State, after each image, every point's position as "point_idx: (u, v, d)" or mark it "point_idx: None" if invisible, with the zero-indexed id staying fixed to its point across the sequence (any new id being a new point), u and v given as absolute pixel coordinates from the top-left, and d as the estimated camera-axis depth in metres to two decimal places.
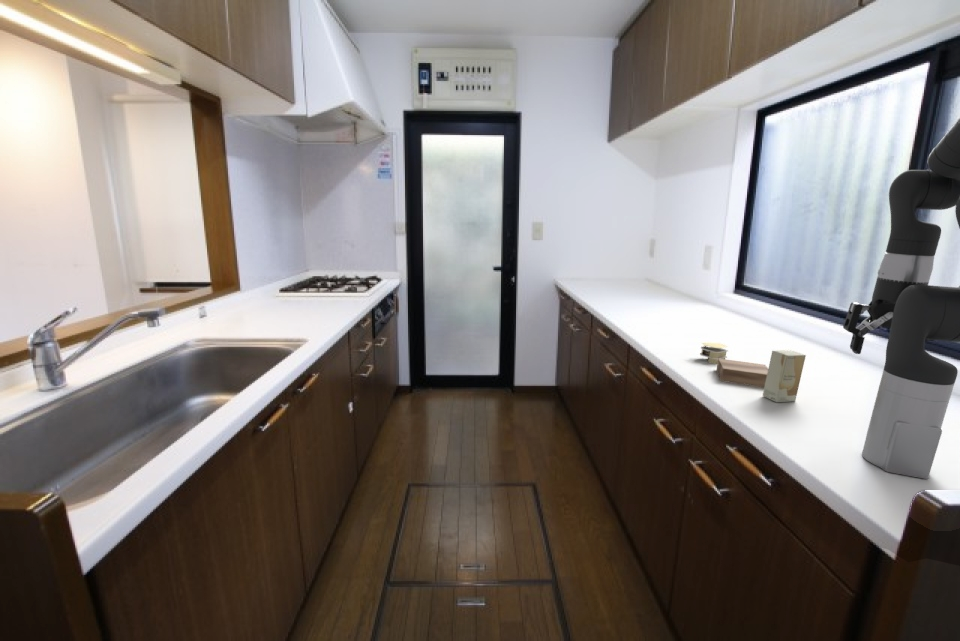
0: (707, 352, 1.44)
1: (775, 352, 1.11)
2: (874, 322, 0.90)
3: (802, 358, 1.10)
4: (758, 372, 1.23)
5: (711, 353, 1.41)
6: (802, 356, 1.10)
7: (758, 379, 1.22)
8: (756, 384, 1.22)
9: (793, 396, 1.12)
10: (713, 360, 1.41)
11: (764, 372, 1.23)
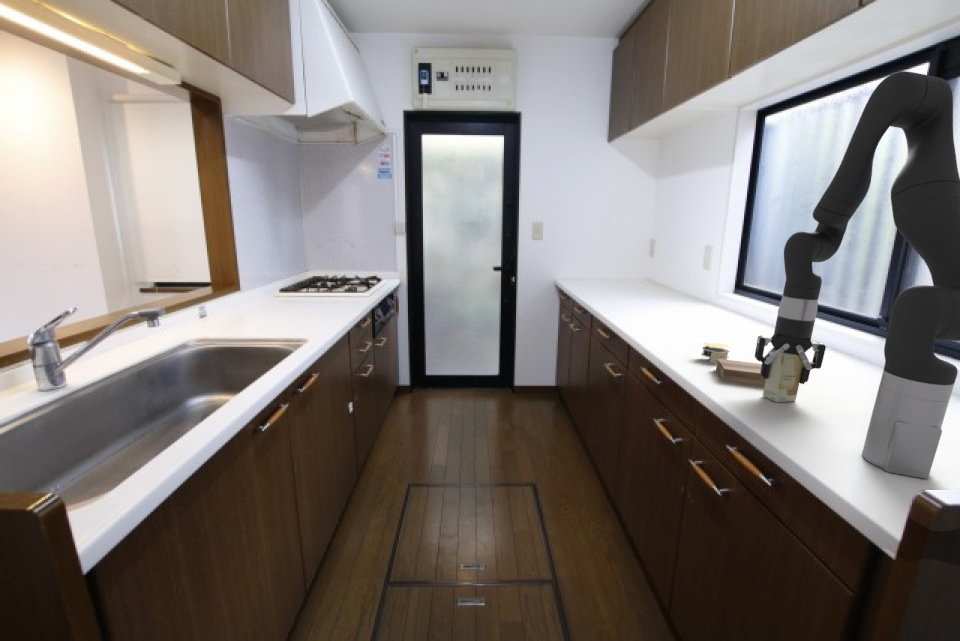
0: (709, 352, 1.44)
1: None
2: (775, 352, 1.11)
3: None
4: (759, 371, 1.23)
5: (713, 353, 1.40)
6: None
7: (759, 379, 1.22)
8: (757, 384, 1.22)
9: (793, 396, 1.12)
10: (714, 360, 1.40)
11: None
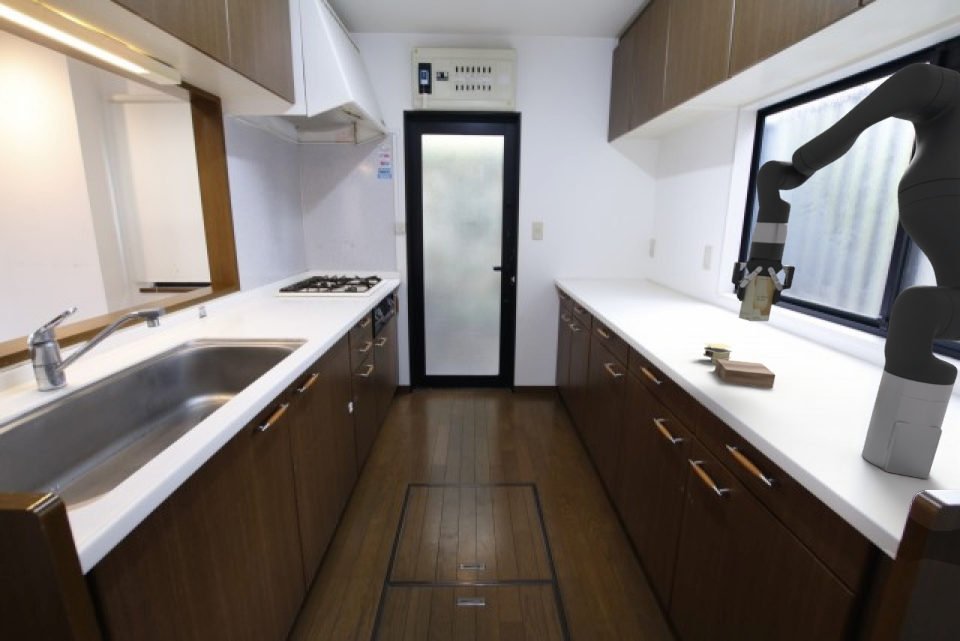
0: (710, 353, 1.44)
1: None
2: (750, 275, 1.21)
3: None
4: (760, 371, 1.23)
5: (714, 354, 1.40)
6: None
7: (760, 379, 1.22)
8: (758, 384, 1.22)
9: (766, 316, 1.22)
10: None
11: (765, 372, 1.23)
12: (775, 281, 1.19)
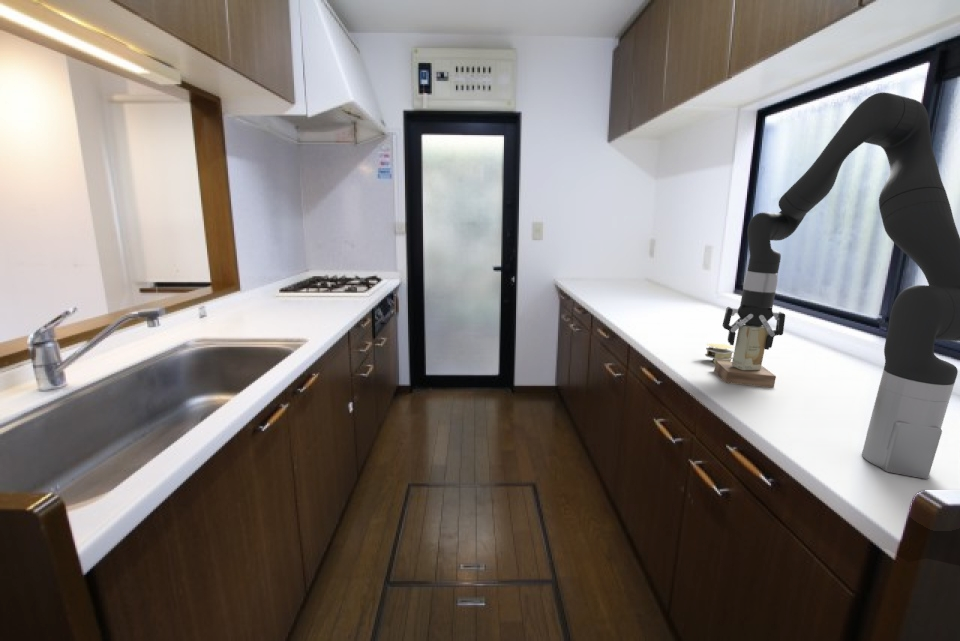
0: (712, 353, 1.43)
1: (742, 326, 1.24)
2: (741, 321, 1.24)
3: (765, 331, 1.23)
4: (761, 373, 1.23)
5: (716, 354, 1.40)
6: None
7: (761, 380, 1.22)
8: (759, 385, 1.23)
9: (758, 365, 1.25)
10: None
11: (765, 373, 1.23)
12: (767, 328, 1.22)
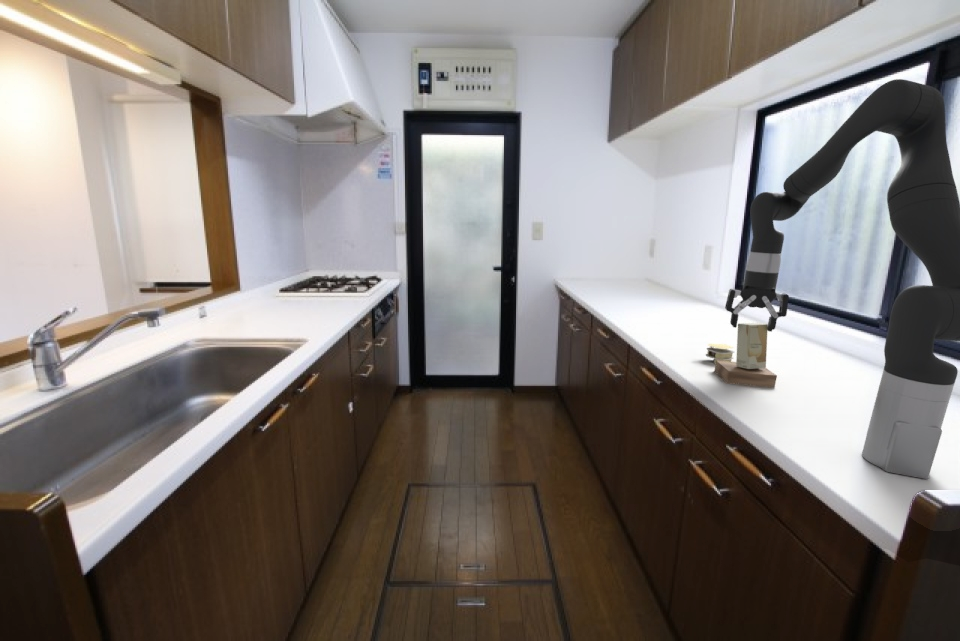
0: (713, 353, 1.43)
1: (740, 324, 1.25)
2: (744, 303, 1.22)
3: (765, 327, 1.23)
4: (761, 372, 1.23)
5: (717, 354, 1.40)
6: (764, 325, 1.23)
7: (762, 380, 1.22)
8: (760, 385, 1.22)
9: (763, 362, 1.24)
10: None
11: (766, 372, 1.23)
12: (770, 309, 1.20)
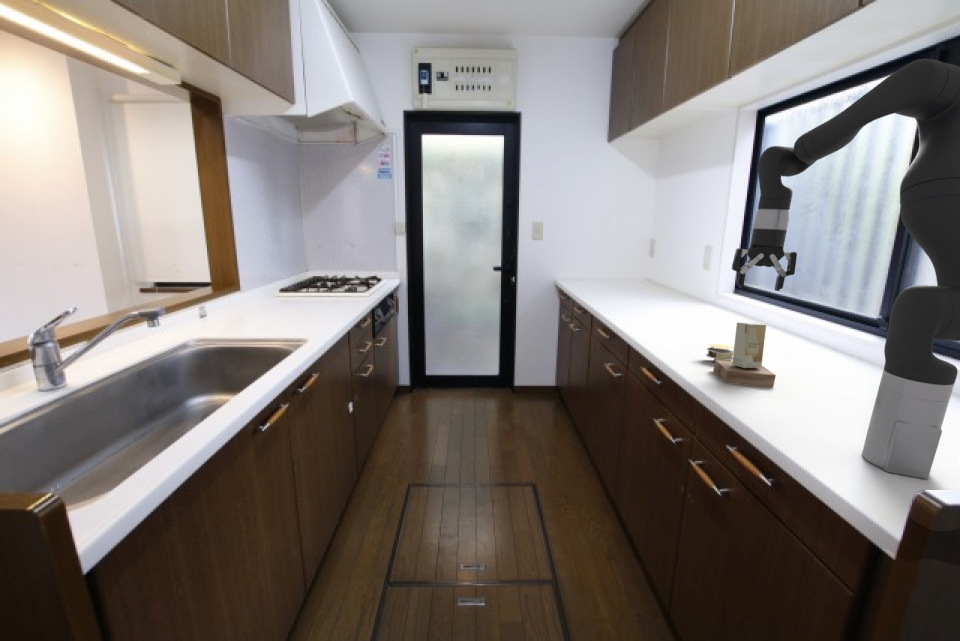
0: (713, 353, 1.43)
1: (739, 323, 1.25)
2: (751, 262, 1.20)
3: (763, 328, 1.24)
4: (760, 372, 1.23)
5: (717, 354, 1.40)
6: (763, 325, 1.24)
7: (761, 379, 1.22)
8: (759, 385, 1.22)
9: (759, 362, 1.25)
10: None
11: (765, 372, 1.23)
12: (778, 268, 1.18)
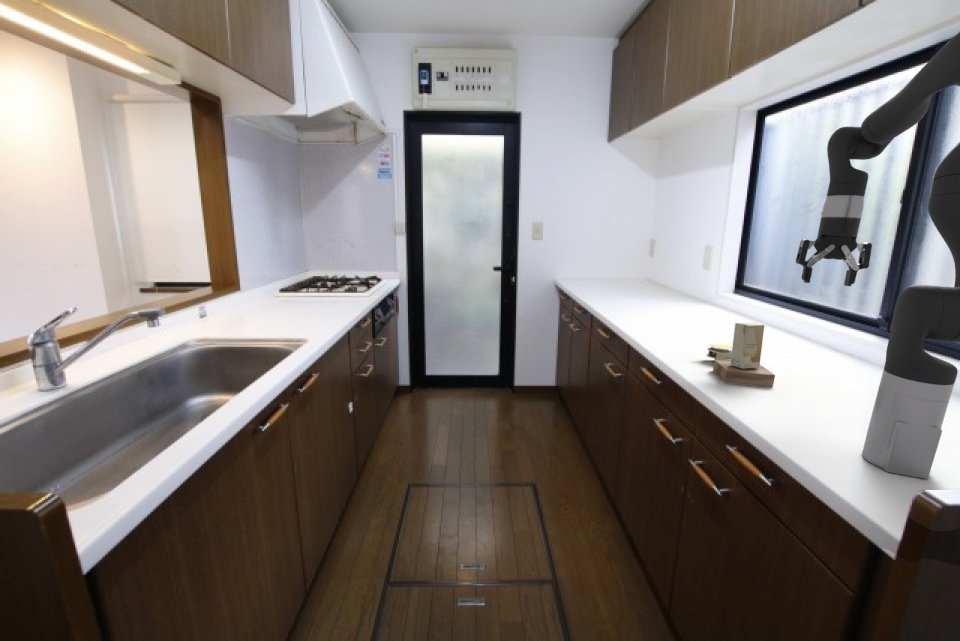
0: (714, 353, 1.43)
1: (738, 324, 1.25)
2: (819, 254, 1.09)
3: (761, 328, 1.24)
4: (760, 372, 1.23)
5: (718, 354, 1.40)
6: (761, 326, 1.24)
7: (760, 379, 1.22)
8: (758, 384, 1.23)
9: (757, 362, 1.25)
10: None
11: (765, 372, 1.23)
12: (850, 260, 1.07)
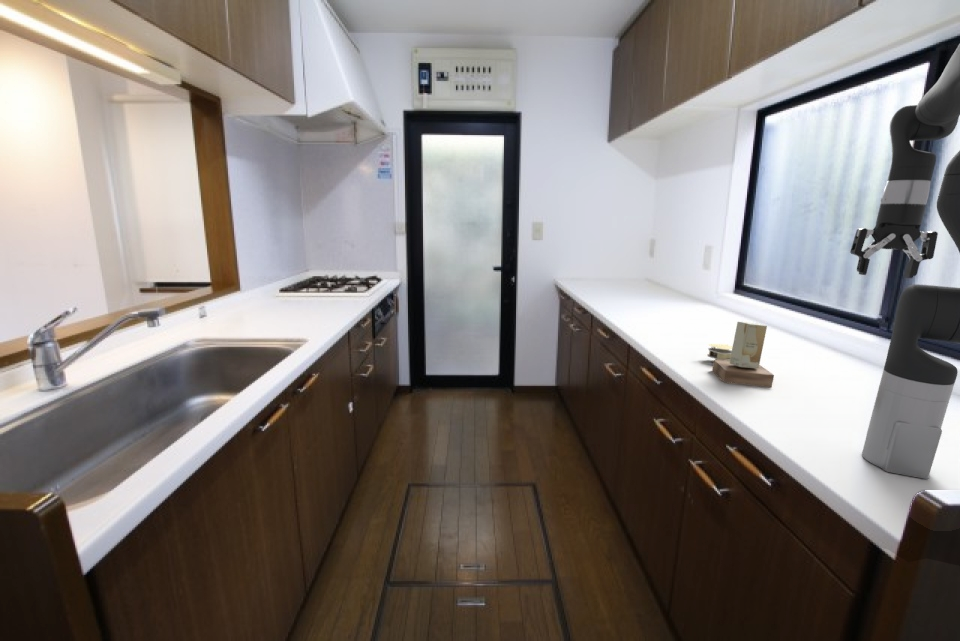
0: (715, 353, 1.43)
1: (739, 322, 1.26)
2: (878, 244, 1.01)
3: (763, 329, 1.24)
4: (759, 372, 1.23)
5: (719, 354, 1.39)
6: (763, 326, 1.23)
7: (759, 379, 1.22)
8: (757, 384, 1.23)
9: (756, 363, 1.25)
10: None
11: (763, 372, 1.23)
12: (913, 250, 0.99)
